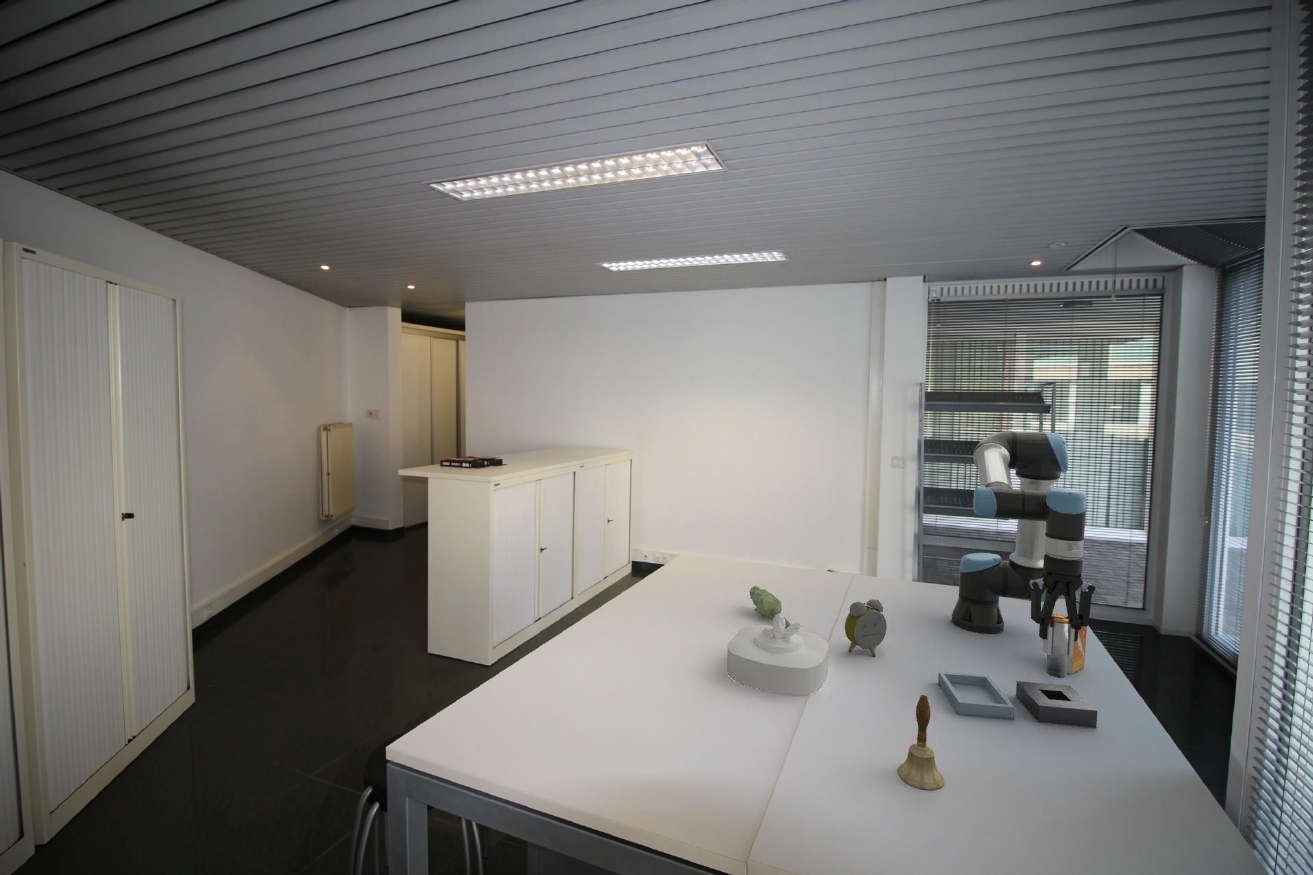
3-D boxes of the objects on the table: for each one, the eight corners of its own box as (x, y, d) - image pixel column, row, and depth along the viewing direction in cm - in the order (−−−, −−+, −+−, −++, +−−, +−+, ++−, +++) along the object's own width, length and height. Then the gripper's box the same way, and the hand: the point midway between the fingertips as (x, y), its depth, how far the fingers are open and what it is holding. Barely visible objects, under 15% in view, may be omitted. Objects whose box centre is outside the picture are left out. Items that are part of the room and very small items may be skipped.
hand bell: (889, 764, 119) (893, 687, 118) (929, 762, 120) (932, 685, 119) (911, 791, 111) (914, 708, 110) (953, 789, 112) (957, 707, 111)
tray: (938, 682, 155) (938, 671, 154) (987, 687, 153) (988, 675, 152) (958, 714, 139) (959, 702, 139) (1014, 720, 137) (1015, 707, 137)
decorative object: (805, 627, 190) (768, 588, 212) (790, 609, 186) (754, 571, 209) (785, 646, 189) (750, 605, 212) (769, 629, 185) (735, 588, 208)
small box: (1071, 675, 160) (1074, 627, 159) (1046, 666, 165) (1048, 620, 165) (1085, 668, 165) (1087, 621, 164) (1059, 659, 170) (1062, 614, 169)
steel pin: (1042, 669, 143) (1046, 612, 142) (1061, 670, 142) (1064, 613, 141) (1050, 677, 139) (1054, 618, 138) (1069, 678, 138) (1073, 620, 137)
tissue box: (833, 662, 166) (835, 606, 165) (815, 703, 144) (817, 638, 143) (746, 645, 177) (747, 592, 176) (717, 680, 155) (719, 620, 154)
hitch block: (1015, 696, 148) (1016, 680, 148) (1068, 701, 146) (1069, 685, 146) (1038, 722, 136) (1039, 705, 136) (1096, 727, 134) (1097, 710, 134)
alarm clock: (873, 645, 178) (875, 595, 177) (890, 654, 172) (892, 603, 171) (842, 650, 174) (844, 600, 173) (858, 660, 167) (860, 608, 166)
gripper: (1030, 557, 136) (1025, 656, 138) (1113, 562, 133) (1106, 663, 135) (1016, 549, 144) (1011, 643, 145) (1094, 553, 141) (1088, 649, 143)
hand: (1057, 652), depth 140 cm, fingers closed on steel pin, 4 cm apart
